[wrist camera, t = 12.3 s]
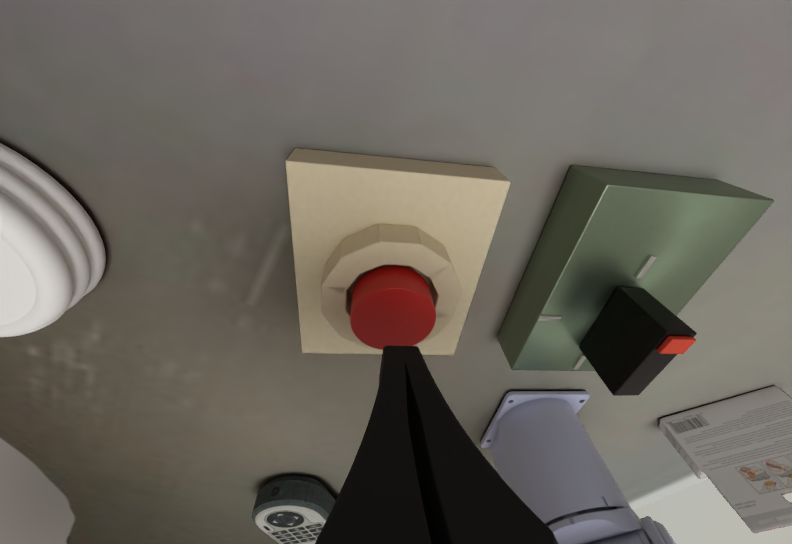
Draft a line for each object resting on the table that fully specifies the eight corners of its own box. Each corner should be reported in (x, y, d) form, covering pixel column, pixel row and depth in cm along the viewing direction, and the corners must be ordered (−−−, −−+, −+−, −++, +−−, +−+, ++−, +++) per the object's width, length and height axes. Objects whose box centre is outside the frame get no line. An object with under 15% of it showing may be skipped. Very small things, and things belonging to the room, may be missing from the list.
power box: (447, 331, 23) (460, 378, 19) (307, 328, 21) (296, 377, 18) (495, 167, 16) (528, 196, 13) (294, 147, 15) (274, 174, 11)
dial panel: (604, 340, 25) (632, 373, 22) (495, 337, 23) (511, 372, 21) (719, 180, 17) (781, 201, 15) (568, 164, 16) (607, 185, 13)
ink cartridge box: (770, 395, 32) (905, 508, 24) (657, 427, 34) (745, 541, 26) (776, 383, 31) (921, 498, 23) (657, 417, 33) (751, 533, 25)
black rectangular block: (600, 347, 20) (641, 399, 17) (578, 347, 20) (615, 399, 17) (643, 287, 17) (702, 337, 14) (618, 286, 17) (672, 336, 14)
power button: (423, 326, 17) (428, 351, 16) (350, 324, 17) (348, 350, 15) (436, 267, 15) (444, 289, 13) (353, 262, 14) (351, 285, 13)
